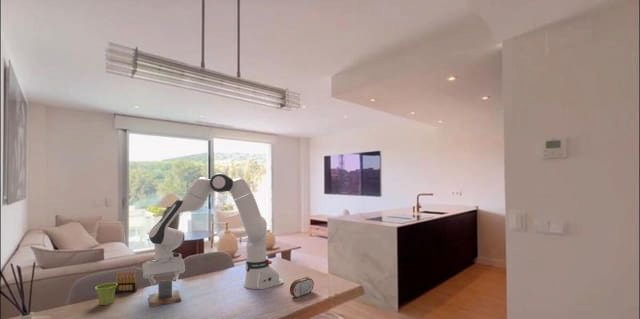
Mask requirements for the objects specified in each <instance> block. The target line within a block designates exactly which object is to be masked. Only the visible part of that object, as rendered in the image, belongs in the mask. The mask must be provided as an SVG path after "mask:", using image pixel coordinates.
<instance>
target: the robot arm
mask: <svg viewBox="0 0 640 319" xmlns="http://www.w3.org/2000/svg"><path fill="white" fill-rule="evenodd" d="M212 192H215V193H216V192H217V193H219V194H220V193H225V192H229V193H230V195H231V197H232V199H233V201H234V203H235V205H236V208H237V210H238V212H239V215H240V219H241V222H242V224H243V228H244V229H245V230H244V231H245V234H246V235H247V240H246V241H247V242H246V260H245V271H246V272H245V273H246V274H245V280H244V283H243V286H244V287H245V288H246V289H251V290H252V289H253V290H265V289H268V288H273V287H276V286H280V285H283V284H284V280H283V279H282V278H281V277H280V274H279V271H277V270H276V269H275V268H274V267H272V266H271V265H272V264H273V261H272V260H269V259H267V232H268V231H267V227H268V225H267V224H268V223H267V221H266V219H265V218H264V217H263V216H262V215H261V212H260V209H259V206H258V204H257V201H256V199H255V197H254V195H253V192H252V190H251V188H250V186H249V184H248V183H247V181H246V180H245V179H244V178H242V177H238V178H237V177H236V178H234V179H232V178H231V177H229V176H228V175H227V174H225V173H222V172H219V173H214V174H213V175H212V176H211V177H210V178H207V177H198V178H196V179H195V181H194V182H193V183H192V185H191V186H190V188H189V189H188V191H187V193H186V194H185V195H184V196H183V197H181V198H180V199H176V201H174V202H173V204H171V206H170V207H169V208H168V210H167V211H166V212H165V213H164V215H163V216H162V218H160V220H158V222H157V223H156V224H155V225H154V226H153V227H152V228H151V230H150V231H149V233H148V238H149V240H150V242H151V243H152V244H154V252H155V253H154V260H146V261H145V262H143V263H142V264H141V266H142V278H143V279H144V280H145V279H150V281H152V285H155V286H156V285H157V279H155V278H159V277H165V276H172V275H175V276H173V277H172V280H173V281H172V283H173V282H177V278H178V276H179V275H180V274H184V272H186V265H185V260H184V259H183V258H182V254H181V253H180V252H179V253H177V252H173V250H176V249H178V248H180V247H181V246H182V245H183V244H184V242H185V234H184V232H183V231H182V230H180V229H176V228H173V227H169V226H170V224H171V223H172V222H173V221H174V219H175V218H176V217H177V216H178V215H179V214H181V213H186V212H187V213H188V212H196V211H198V210H200V209H201V208H202V207H203V206H204V205H205V203H206V201H207V199H208V197H209V196H210V195H211V193H212Z"/></svg>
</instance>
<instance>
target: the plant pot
mask: <svg viewBox="0 0 640 319" xmlns="http://www.w3.org/2000/svg"><path fill="white" fill-rule="evenodd" d="M117 285H118V284H117V283H116V282H109V283H103V284H99V285H96V286H95V287H94V288H95V291H96V293H97V300H98V305H99V306H108V305H110V304H111V305H112V303H114V301H115V296H116V293H115V290H116V287H117Z"/></svg>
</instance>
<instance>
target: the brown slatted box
mask: <svg viewBox="0 0 640 319" xmlns="http://www.w3.org/2000/svg"><path fill="white" fill-rule="evenodd" d="M115 274H116V276H115V283H117V284H118V285H117V287H116V290H115V294H119V293H120V294H122V293H136V292H137V291H138V286H137V285H138V284H137V271H136V269H134V270H132V269H130V271H129V269H127V271H126V270H125V269H124V270H123V271H122V270H121V269H120V272H119V270H117V271H116V273H115ZM135 291H136V292H135Z"/></svg>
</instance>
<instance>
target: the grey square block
mask: <svg viewBox="0 0 640 319" xmlns="http://www.w3.org/2000/svg"><path fill="white" fill-rule="evenodd" d="M157 282H158V283H157V284H158V286H157V287H158V288H157V290H158V291H157V293H158V298H159V299H164V298H170V297H172V291H173V281H172V279H171V278H169V279H168V278H167V279H164V280H163V279H162V280H158V281H157Z"/></svg>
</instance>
